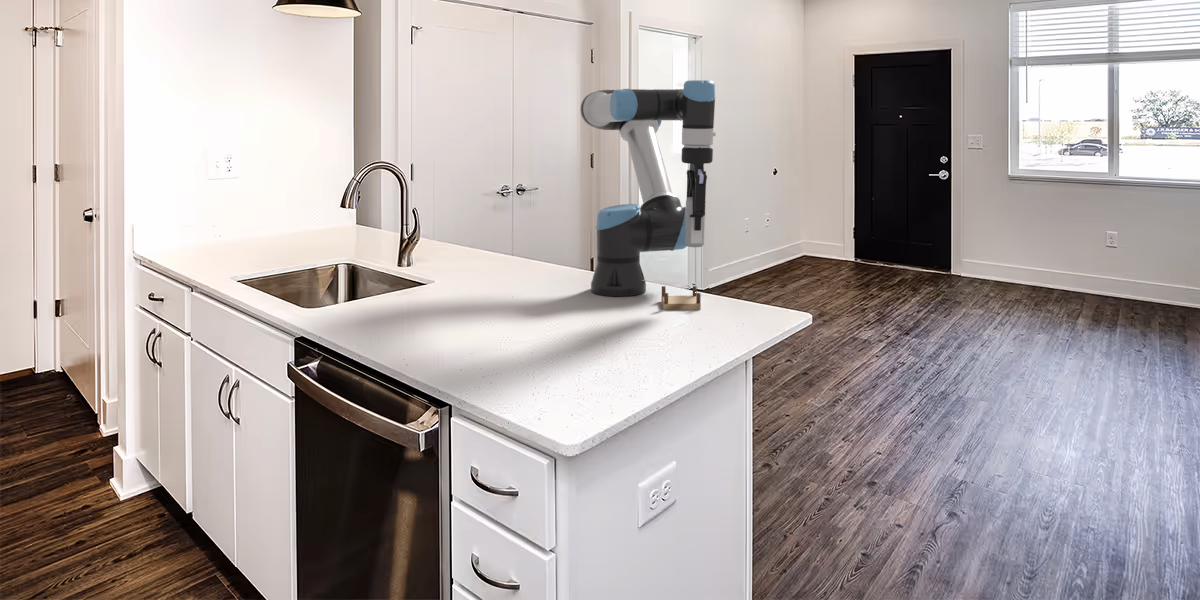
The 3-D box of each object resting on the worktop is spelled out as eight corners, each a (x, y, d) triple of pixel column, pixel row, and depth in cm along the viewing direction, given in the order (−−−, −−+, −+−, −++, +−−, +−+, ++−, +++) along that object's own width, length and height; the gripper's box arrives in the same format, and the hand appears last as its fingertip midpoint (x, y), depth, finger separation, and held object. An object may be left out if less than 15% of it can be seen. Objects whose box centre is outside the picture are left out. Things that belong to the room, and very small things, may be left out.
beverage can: (689, 248, 188) (691, 199, 185) (681, 244, 193) (682, 197, 190) (707, 247, 190) (709, 198, 187) (698, 243, 194) (700, 196, 191)
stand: (664, 309, 189) (664, 293, 188) (661, 301, 198) (661, 286, 197) (700, 309, 189) (700, 293, 188) (696, 301, 198) (696, 286, 197)
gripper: (720, 148, 177) (716, 247, 183) (705, 144, 194) (702, 234, 200) (688, 148, 176) (685, 248, 182) (676, 144, 194) (673, 235, 200)
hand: (694, 240), depth 191 cm, fingers closed on beverage can, 5 cm apart
